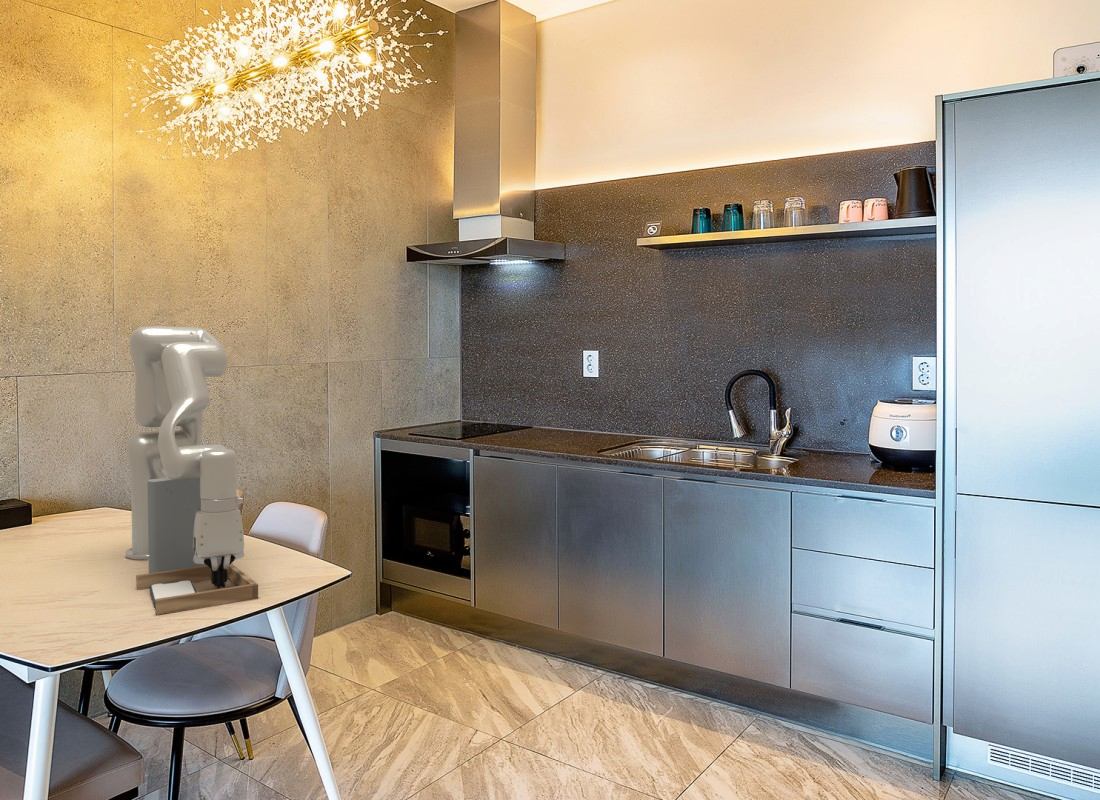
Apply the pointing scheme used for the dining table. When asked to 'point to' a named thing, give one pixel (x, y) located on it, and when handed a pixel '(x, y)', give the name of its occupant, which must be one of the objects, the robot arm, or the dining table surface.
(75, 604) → the dining table surface
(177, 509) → the upright grey panel
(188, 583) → the smartphone
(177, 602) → the wooden u-shaped frame
